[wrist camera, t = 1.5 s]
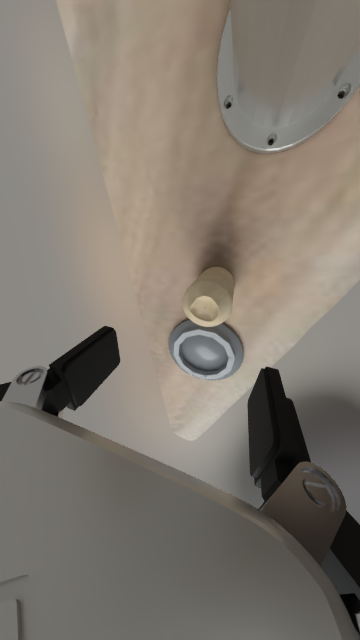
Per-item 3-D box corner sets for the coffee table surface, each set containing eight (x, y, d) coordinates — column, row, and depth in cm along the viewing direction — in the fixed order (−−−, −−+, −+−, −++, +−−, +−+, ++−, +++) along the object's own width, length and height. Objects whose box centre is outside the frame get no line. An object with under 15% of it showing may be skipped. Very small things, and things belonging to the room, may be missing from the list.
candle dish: (171, 310, 30) (167, 315, 29) (252, 327, 27) (253, 333, 26) (168, 367, 37) (165, 373, 36) (233, 386, 34) (233, 393, 32)
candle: (196, 297, 28) (176, 327, 19) (200, 263, 25) (180, 280, 17) (229, 304, 27) (224, 338, 18) (238, 268, 24) (237, 289, 15)
